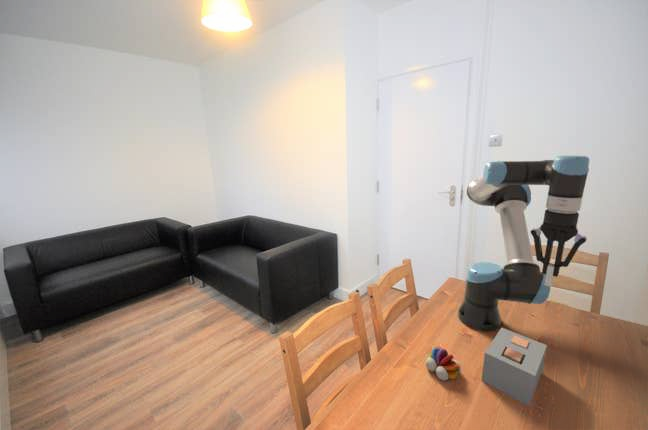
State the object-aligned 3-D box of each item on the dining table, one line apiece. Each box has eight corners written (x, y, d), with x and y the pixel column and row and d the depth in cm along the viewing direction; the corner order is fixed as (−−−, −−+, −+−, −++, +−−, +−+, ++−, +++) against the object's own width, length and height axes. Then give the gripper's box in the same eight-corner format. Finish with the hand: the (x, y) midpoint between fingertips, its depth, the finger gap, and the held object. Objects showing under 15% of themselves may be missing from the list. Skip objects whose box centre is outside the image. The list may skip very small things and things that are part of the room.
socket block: (481, 380, 83) (485, 351, 81) (497, 352, 94) (501, 326, 91) (529, 406, 75) (535, 375, 72) (541, 372, 85) (547, 344, 83)
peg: (499, 379, 82) (503, 354, 80) (503, 372, 84) (507, 347, 82) (515, 387, 79) (519, 361, 77) (518, 379, 82) (523, 353, 79)
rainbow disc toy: (446, 387, 82) (448, 367, 80) (421, 365, 90) (422, 346, 88) (465, 376, 85) (467, 356, 84) (439, 355, 94) (440, 337, 92)
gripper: (531, 209, 82) (520, 281, 88) (591, 216, 73) (574, 296, 79) (536, 205, 87) (525, 273, 93) (594, 211, 78) (577, 287, 83)
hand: (548, 284), depth 86 cm, fingers closed
